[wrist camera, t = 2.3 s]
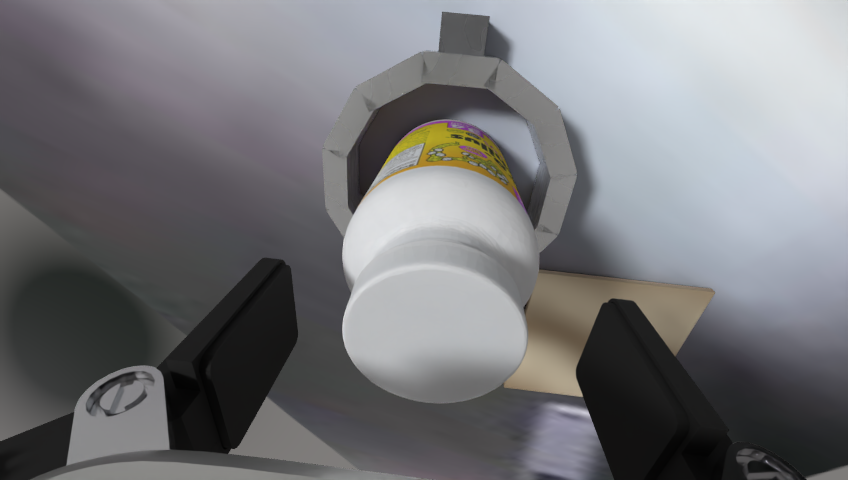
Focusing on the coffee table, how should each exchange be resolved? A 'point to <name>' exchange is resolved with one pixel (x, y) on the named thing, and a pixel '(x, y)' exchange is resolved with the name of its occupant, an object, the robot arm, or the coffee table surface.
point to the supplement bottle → (440, 268)
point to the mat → (576, 313)
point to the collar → (457, 67)
